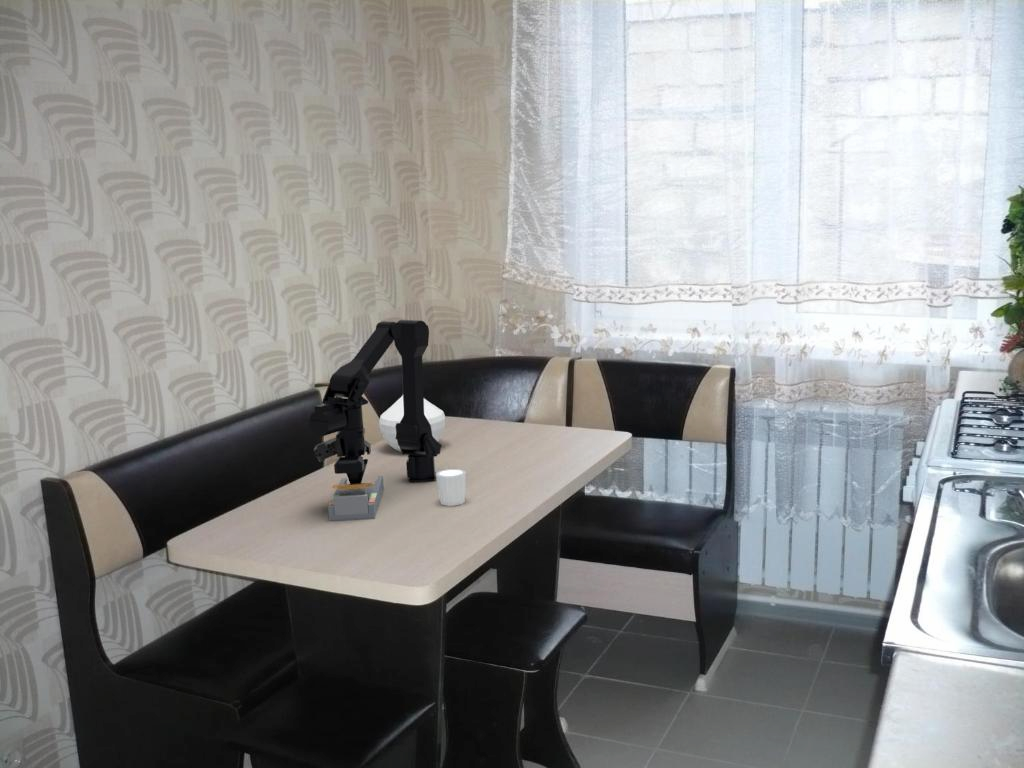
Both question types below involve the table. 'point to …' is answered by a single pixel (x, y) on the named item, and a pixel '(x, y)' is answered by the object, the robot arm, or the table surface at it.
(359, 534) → the table surface
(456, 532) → the table surface
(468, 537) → the table surface
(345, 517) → the track
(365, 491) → the gauge sled
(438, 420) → the vase
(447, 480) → the shot glass
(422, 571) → the table surface
